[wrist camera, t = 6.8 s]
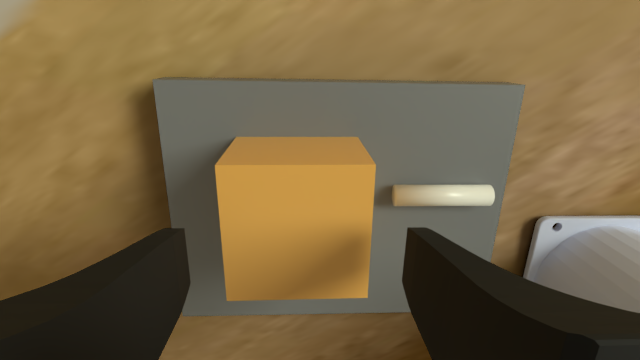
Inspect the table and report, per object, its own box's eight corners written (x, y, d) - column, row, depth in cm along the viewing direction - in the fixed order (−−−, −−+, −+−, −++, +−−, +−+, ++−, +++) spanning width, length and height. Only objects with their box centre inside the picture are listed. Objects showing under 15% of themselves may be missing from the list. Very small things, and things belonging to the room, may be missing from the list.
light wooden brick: (357, 136, 16) (375, 164, 12) (352, 243, 18) (367, 297, 14) (236, 136, 16) (214, 165, 12) (243, 244, 18) (226, 301, 14)
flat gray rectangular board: (507, 82, 18) (573, 92, 13) (468, 293, 21) (510, 353, 17) (165, 77, 17) (118, 85, 12) (191, 297, 21) (162, 361, 16)
